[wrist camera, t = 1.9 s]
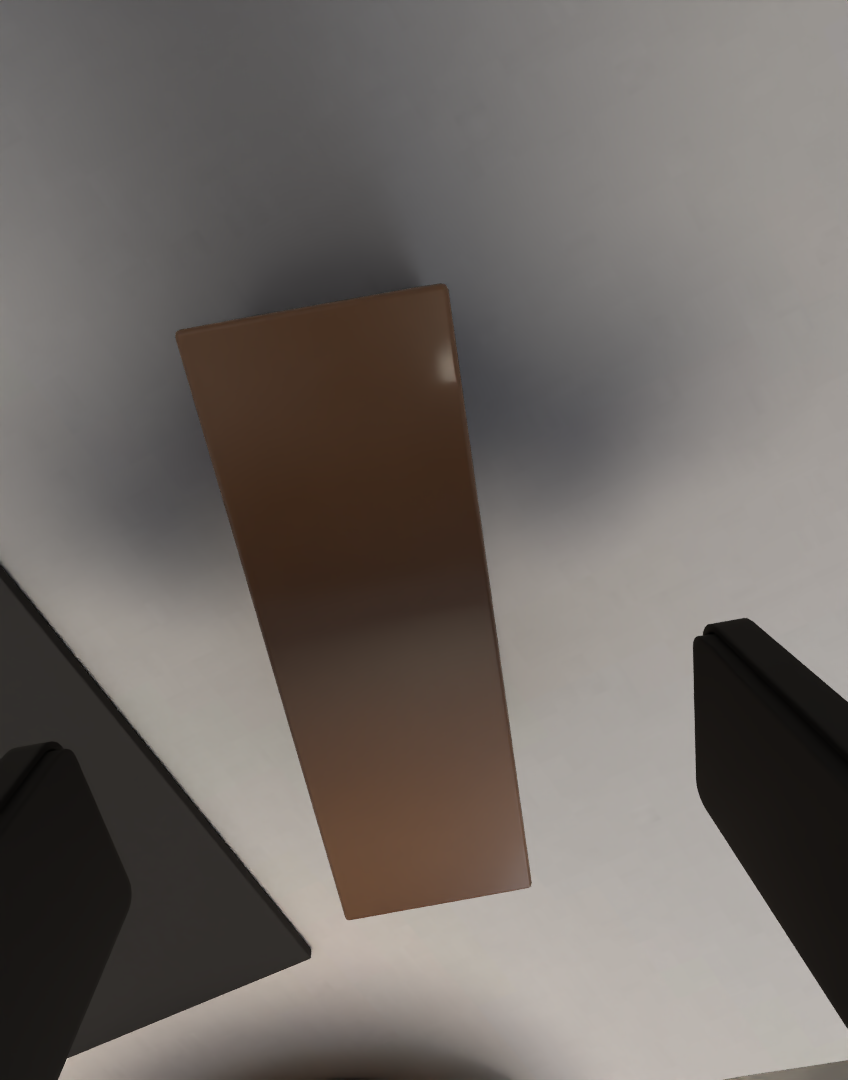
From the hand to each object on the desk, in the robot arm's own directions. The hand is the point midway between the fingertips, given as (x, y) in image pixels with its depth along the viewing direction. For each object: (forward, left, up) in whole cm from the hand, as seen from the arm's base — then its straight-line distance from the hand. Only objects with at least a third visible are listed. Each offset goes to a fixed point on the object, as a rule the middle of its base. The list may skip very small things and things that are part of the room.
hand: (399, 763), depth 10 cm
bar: (-1, 0, -7) cm, 7 cm away
